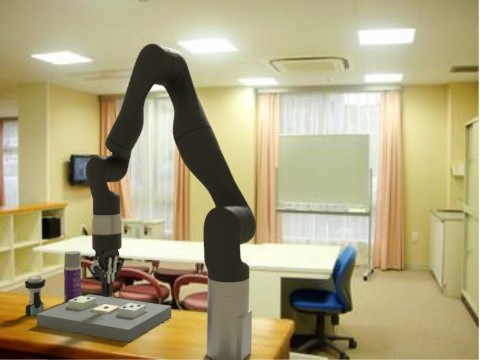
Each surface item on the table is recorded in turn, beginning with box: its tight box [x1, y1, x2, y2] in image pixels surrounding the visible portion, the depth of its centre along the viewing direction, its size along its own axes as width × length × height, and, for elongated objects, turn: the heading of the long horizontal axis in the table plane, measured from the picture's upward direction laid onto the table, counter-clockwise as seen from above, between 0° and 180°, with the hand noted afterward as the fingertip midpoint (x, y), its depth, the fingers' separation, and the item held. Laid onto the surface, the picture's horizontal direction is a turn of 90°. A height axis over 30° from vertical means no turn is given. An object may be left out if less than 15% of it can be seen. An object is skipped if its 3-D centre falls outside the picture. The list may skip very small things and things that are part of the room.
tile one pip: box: [93, 304, 120, 315], centre depth 124 cm, size 5×5×3 cm
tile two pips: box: [68, 295, 96, 311], centre depth 127 cm, size 5×5×3 cm
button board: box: [36, 293, 172, 343], centre depth 124 cm, size 28×20×3 cm
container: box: [63, 250, 82, 304], centre depth 141 cm, size 5×5×15 cm
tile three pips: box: [118, 303, 145, 319], centre depth 121 cm, size 5×5×3 cm
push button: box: [24, 275, 46, 317], centre depth 131 cm, size 7×5×10 cm
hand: (107, 296), depth 124 cm, fingers closed
